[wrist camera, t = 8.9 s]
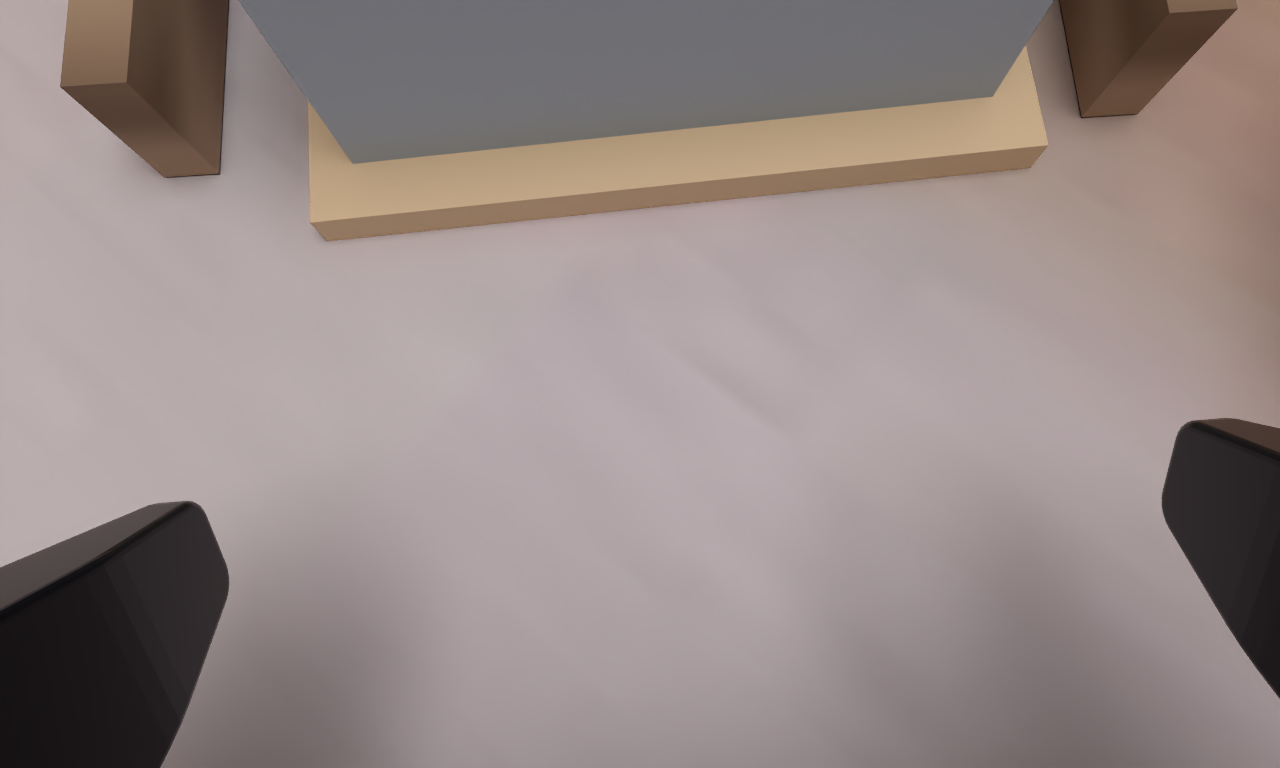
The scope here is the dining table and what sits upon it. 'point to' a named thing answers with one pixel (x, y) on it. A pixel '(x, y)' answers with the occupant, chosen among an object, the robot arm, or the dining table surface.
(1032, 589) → the dining table surface
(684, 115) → the tea caddy
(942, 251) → the dining table surface
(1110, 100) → the bay
